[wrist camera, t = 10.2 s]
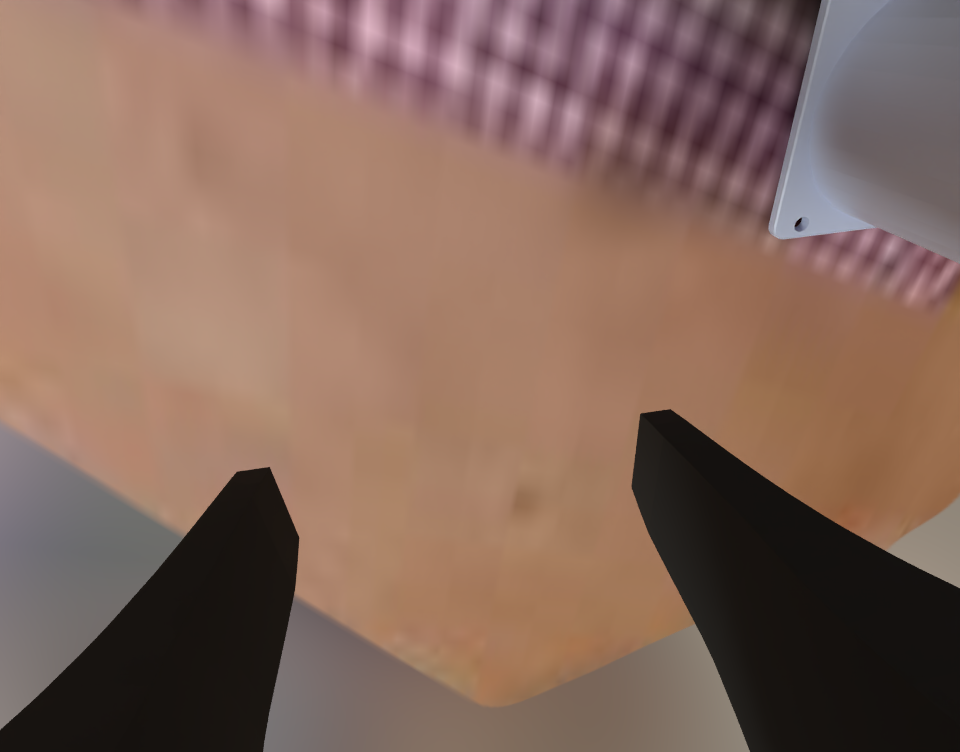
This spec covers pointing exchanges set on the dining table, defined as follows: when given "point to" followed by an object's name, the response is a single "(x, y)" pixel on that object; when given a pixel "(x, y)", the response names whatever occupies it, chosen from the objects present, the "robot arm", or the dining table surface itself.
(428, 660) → the dining table surface
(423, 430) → the dining table surface
